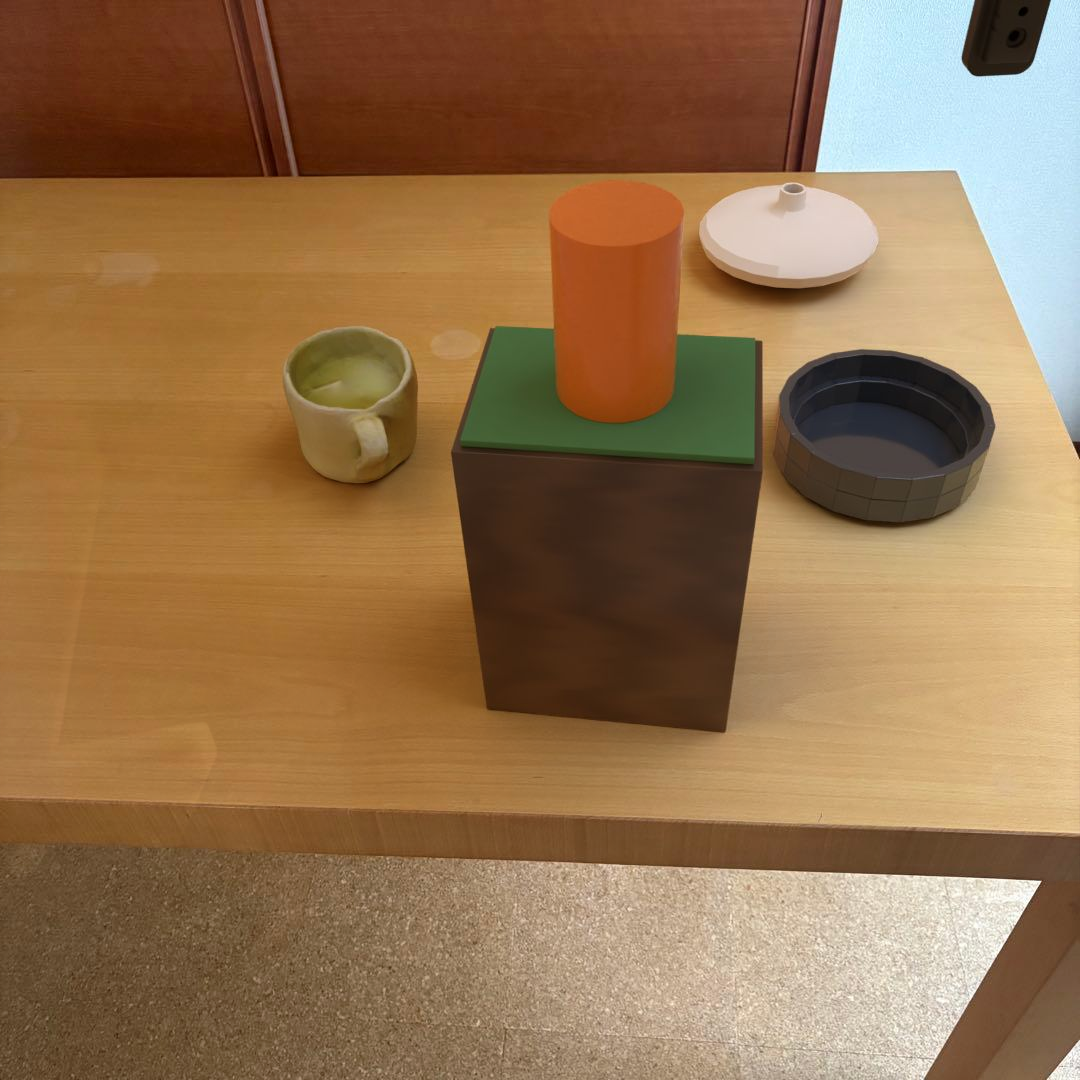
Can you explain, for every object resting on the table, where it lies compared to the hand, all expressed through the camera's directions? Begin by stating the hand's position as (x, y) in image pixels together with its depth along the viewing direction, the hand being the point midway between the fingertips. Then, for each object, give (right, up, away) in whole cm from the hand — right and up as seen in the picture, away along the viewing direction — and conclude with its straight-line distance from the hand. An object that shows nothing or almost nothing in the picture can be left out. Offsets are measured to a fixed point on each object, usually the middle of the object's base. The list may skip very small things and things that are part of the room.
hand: (956, 26), depth 38 cm
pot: (+9, -13, +37) cm, 40 cm away
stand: (-11, -26, +26) cm, 38 cm away
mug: (-28, -13, +40) cm, 50 cm away
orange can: (-12, -12, +11) cm, 20 cm away
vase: (+7, +6, +57) cm, 58 cm away
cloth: (-12, -12, +12) cm, 20 cm away
